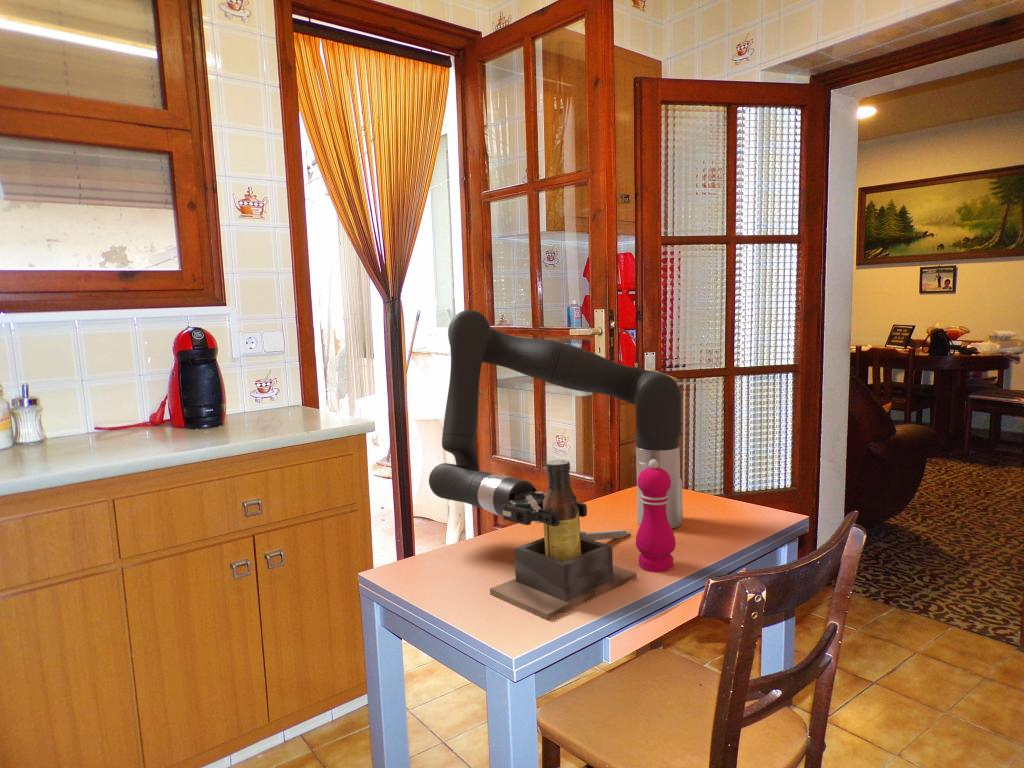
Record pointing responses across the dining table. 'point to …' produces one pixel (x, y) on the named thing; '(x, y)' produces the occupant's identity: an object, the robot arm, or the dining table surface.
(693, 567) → the dining table surface
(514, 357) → the robot arm
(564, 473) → the sauce bottle
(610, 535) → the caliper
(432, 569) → the dining table surface
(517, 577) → the bottle caddy
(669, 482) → the pepper mill
